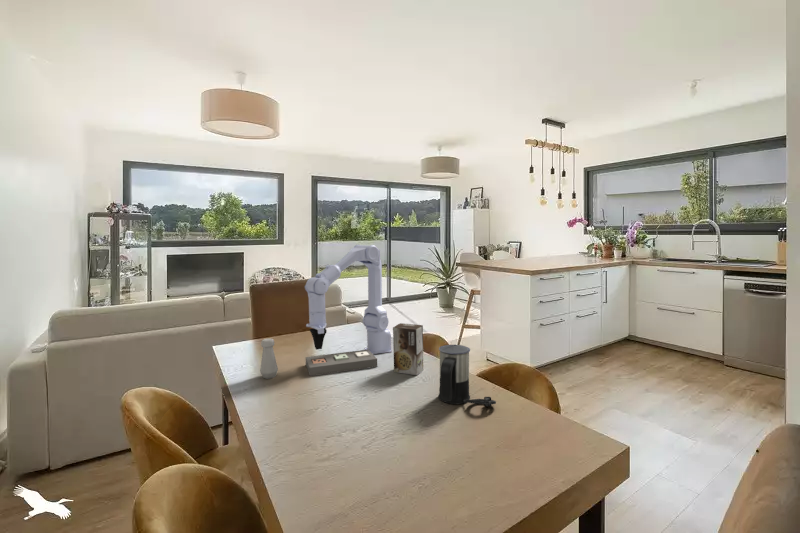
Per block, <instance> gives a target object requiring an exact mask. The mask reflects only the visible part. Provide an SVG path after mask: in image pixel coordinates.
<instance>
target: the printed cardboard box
mask: <svg viewBox="0 0 800 533" xmlns="http://www.w3.org/2000/svg"><path fill="white" fill-rule="evenodd" d="M423 328H424V325H423V324H411V323H402V322H401V323H398V324H396V325H395V326H393V327H392V340H393V341H392V344H393V350H392V351H393V372H394V373H397V374H398V373H399V374H407V375H412V376H413V375H414V376H418V375H419V374H420V373H422V372H423V371H424V331H423V330H424V329H423Z"/></svg>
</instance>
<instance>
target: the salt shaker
mask: <svg viewBox="0 0 800 533" xmlns="http://www.w3.org/2000/svg"><path fill="white" fill-rule="evenodd" d="M260 346H261V347H262V353H261V360H260V361H261V362H260V370H259V371H260V375H261V377H262V378H263V379H265V380H268V379H273V378H275V377H276V376H277V374H278V371H279V367H278V364H277V363H278V362H277V359H276V354H275V351H274V346H275V339H273V338H270V337H269V338H264V339H262V340H261V342H260Z"/></svg>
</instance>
